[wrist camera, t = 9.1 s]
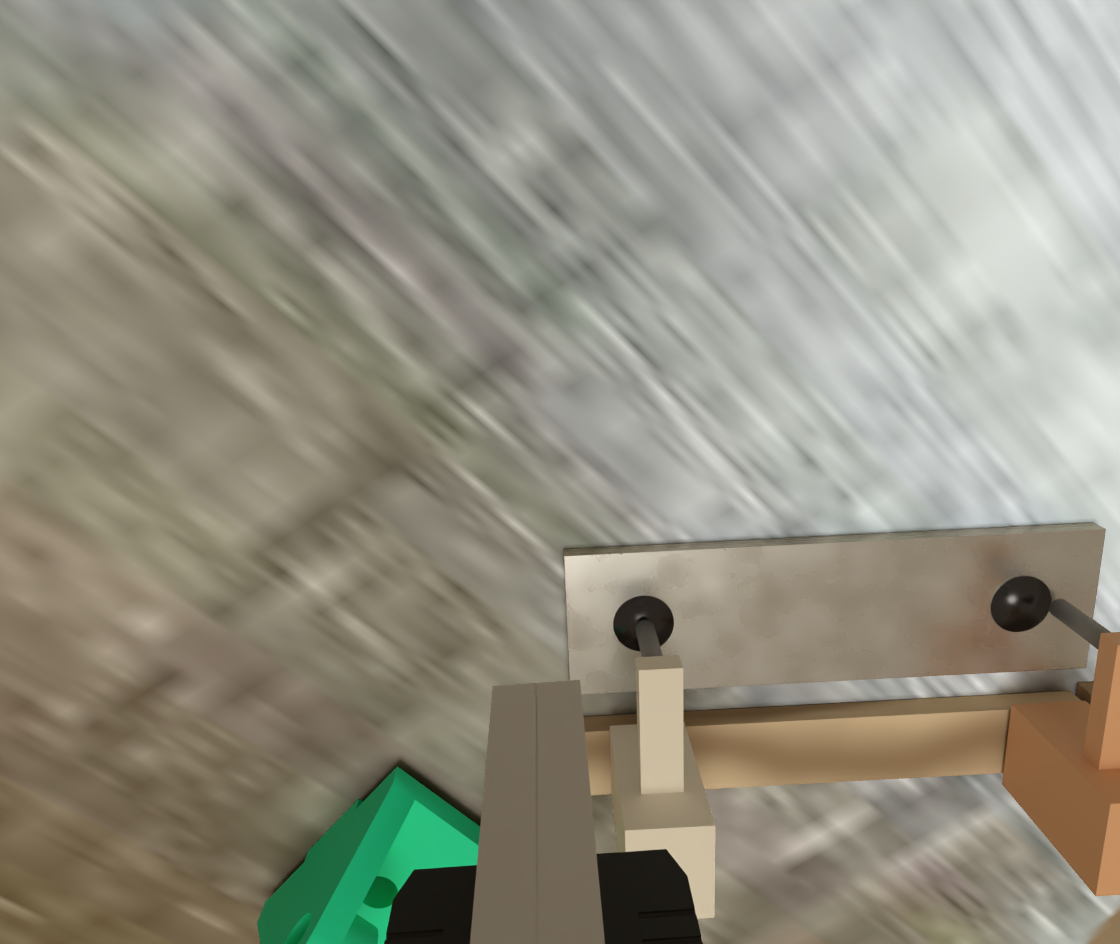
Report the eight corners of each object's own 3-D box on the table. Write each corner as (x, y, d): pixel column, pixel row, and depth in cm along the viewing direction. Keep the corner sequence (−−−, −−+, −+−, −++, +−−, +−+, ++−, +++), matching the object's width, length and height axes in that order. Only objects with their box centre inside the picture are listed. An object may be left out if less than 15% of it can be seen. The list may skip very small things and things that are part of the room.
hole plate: (563, 549, 44) (564, 556, 43) (1093, 522, 45) (1106, 529, 44) (569, 685, 47) (570, 695, 46) (1074, 658, 47) (1086, 668, 46)
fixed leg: (605, 613, 44) (621, 700, 36) (683, 609, 44) (716, 695, 36) (611, 802, 47) (627, 922, 39) (683, 799, 47) (714, 917, 39)
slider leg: (1022, 591, 44) (1131, 673, 36) (1098, 587, 44) (1224, 668, 36) (1000, 781, 47) (1095, 895, 39) (1071, 777, 47) (1181, 891, 39)
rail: (541, 711, 47) (541, 754, 43) (1103, 681, 48) (1153, 721, 44) (545, 788, 48) (546, 836, 45) (1092, 758, 49) (1139, 803, 45)
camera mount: (373, 955, 52) (334, 1127, 42) (271, 887, 50) (205, 1049, 40) (502, 829, 49) (494, 980, 40) (400, 754, 48) (364, 892, 38)
